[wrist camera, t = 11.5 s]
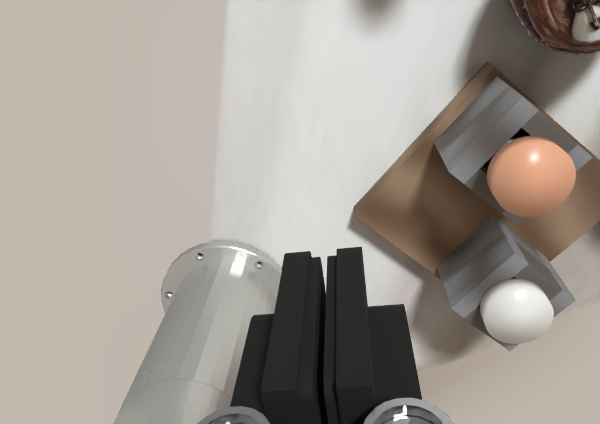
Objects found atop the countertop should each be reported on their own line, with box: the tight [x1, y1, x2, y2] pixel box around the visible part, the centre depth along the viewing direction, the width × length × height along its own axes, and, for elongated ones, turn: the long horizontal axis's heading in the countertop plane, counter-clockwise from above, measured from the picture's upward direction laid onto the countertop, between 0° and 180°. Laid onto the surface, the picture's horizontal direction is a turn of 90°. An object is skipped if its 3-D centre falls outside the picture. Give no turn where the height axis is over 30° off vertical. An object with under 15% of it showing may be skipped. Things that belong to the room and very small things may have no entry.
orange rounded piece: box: [487, 131, 576, 217], centre depth 34 cm, size 5×5×6 cm
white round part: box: [480, 277, 554, 344], centre depth 40 cm, size 5×5×6 cm
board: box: [354, 63, 600, 351], centre depth 40 cm, size 16×16×8 cm
